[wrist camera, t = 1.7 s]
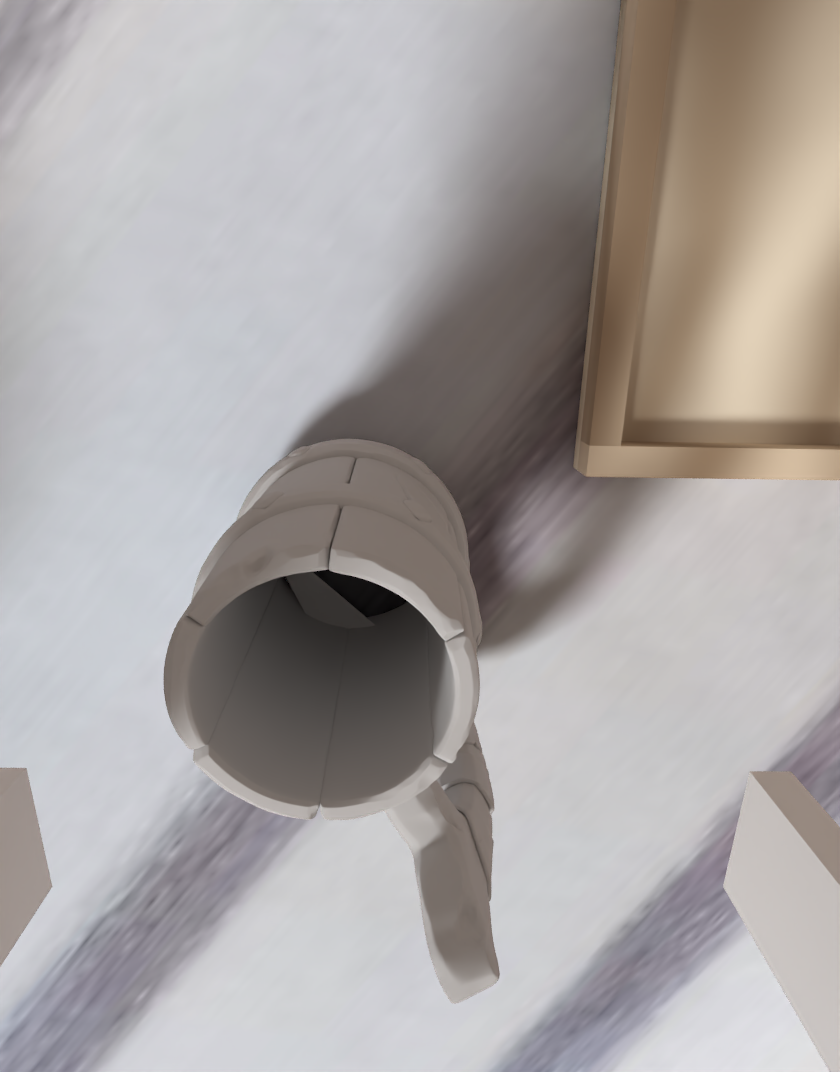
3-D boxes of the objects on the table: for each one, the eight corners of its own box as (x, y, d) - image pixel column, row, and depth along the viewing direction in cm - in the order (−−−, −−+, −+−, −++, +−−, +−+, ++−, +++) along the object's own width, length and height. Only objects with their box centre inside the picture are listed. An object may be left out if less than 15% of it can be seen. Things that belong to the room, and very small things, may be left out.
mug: (395, 388, 20) (394, 457, 8) (546, 664, 23) (690, 978, 12) (201, 498, 21) (-36, 694, 9) (374, 748, 24) (354, 1115, 13)
